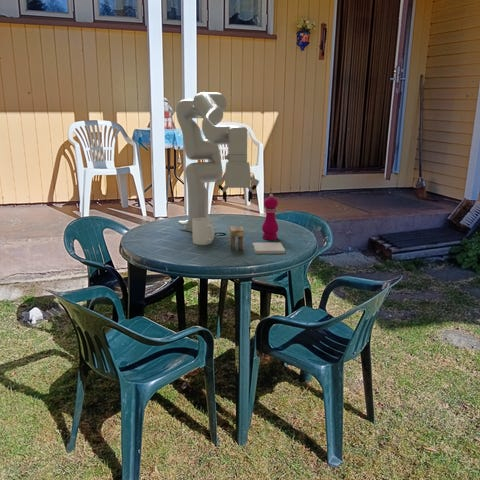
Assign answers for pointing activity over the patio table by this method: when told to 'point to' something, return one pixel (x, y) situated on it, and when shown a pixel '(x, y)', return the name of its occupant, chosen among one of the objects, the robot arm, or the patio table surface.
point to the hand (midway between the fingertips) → (237, 201)
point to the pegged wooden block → (237, 232)
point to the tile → (268, 248)
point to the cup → (202, 231)
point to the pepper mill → (270, 219)
